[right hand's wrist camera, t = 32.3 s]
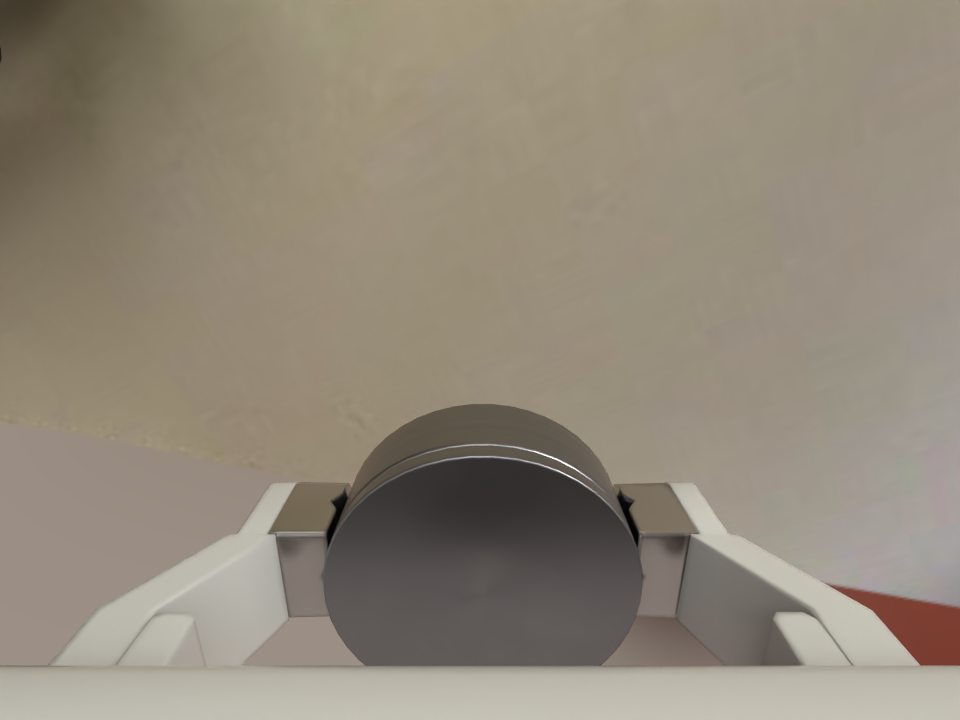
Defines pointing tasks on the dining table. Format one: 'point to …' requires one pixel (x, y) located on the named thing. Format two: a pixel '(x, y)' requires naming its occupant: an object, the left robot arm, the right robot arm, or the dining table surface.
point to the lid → (482, 547)
